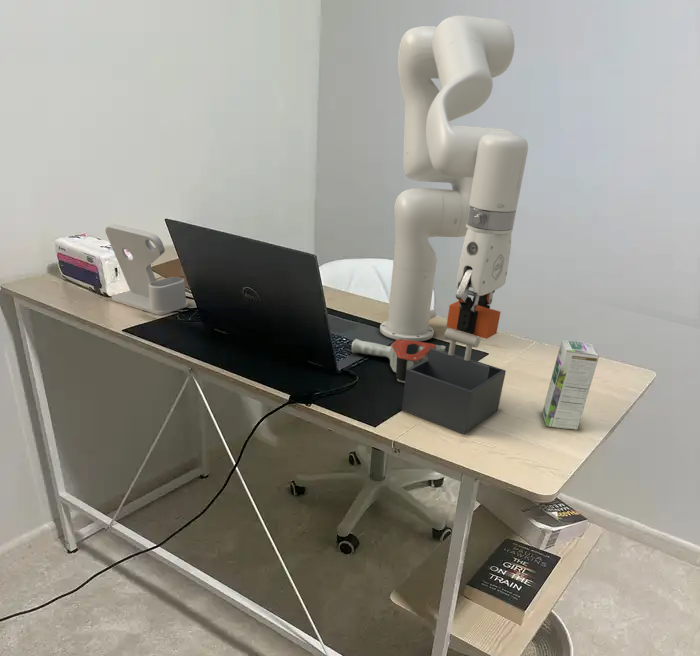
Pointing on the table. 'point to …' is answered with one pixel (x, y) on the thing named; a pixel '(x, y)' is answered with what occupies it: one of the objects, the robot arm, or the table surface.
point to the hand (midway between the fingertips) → (471, 327)
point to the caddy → (453, 386)
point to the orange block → (484, 323)
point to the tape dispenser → (397, 353)
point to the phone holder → (144, 272)
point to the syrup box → (570, 384)
